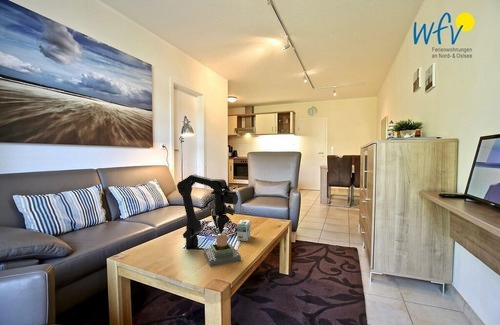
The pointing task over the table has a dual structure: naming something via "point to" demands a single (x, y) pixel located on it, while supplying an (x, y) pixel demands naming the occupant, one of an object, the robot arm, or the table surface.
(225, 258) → the gearbox housing
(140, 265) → the table surface
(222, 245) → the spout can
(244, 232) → the light bulb box
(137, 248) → the table surface
